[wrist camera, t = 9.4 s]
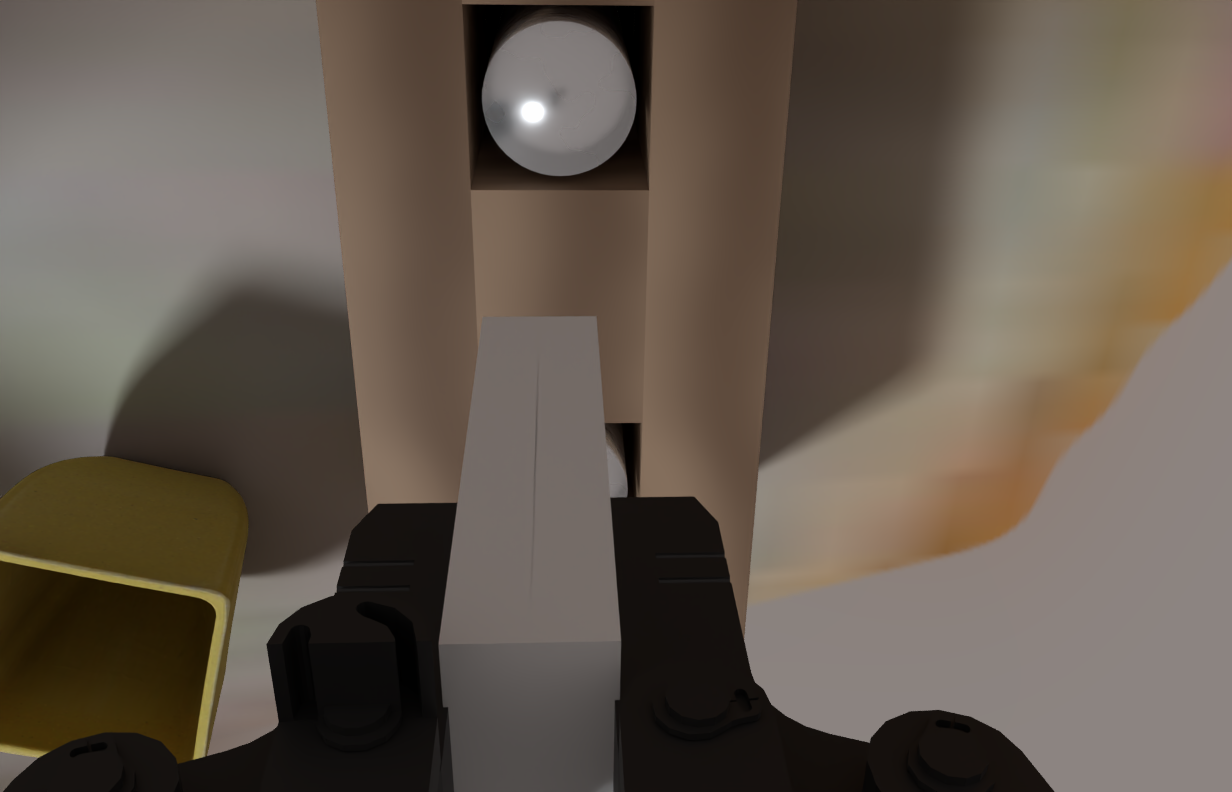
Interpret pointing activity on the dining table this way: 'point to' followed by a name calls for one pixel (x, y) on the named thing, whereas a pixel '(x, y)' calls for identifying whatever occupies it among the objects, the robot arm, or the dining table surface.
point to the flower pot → (116, 603)
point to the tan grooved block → (564, 241)
